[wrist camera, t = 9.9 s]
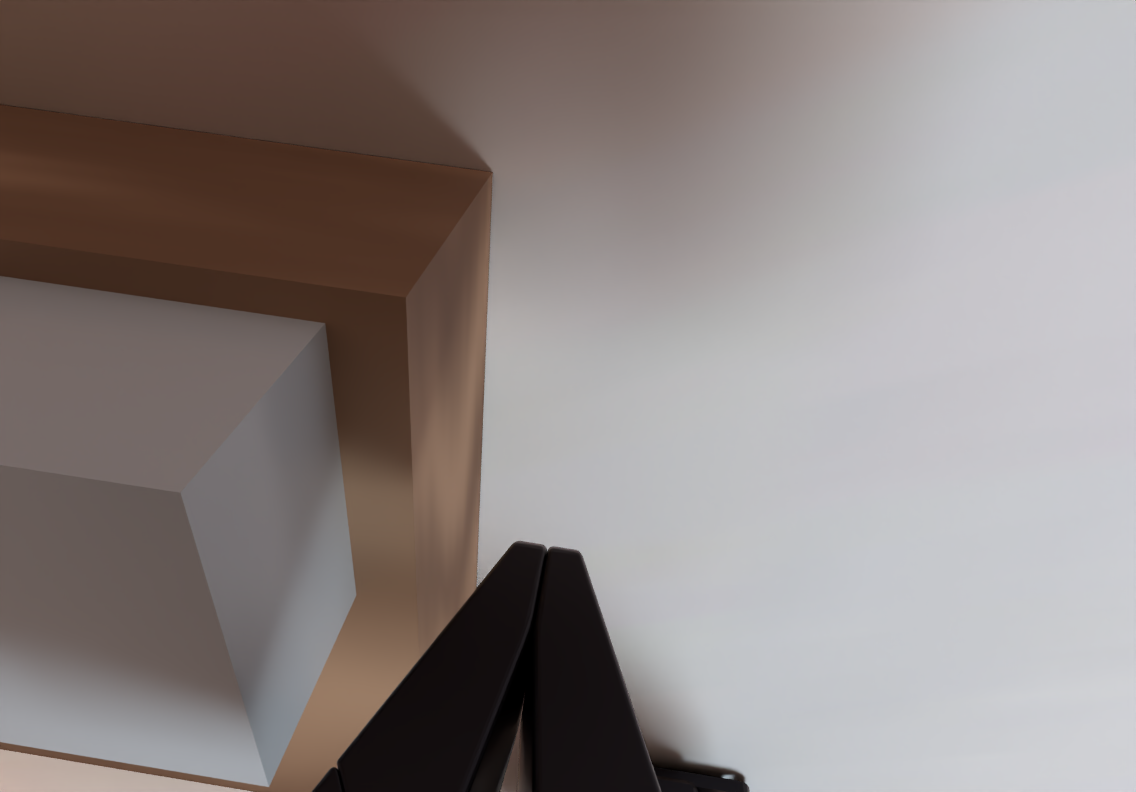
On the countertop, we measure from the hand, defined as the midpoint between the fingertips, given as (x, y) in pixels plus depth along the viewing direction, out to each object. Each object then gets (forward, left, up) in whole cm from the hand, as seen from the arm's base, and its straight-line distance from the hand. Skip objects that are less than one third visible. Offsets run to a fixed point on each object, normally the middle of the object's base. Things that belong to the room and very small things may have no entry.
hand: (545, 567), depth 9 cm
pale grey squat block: (0, +6, -1) cm, 6 cm away
